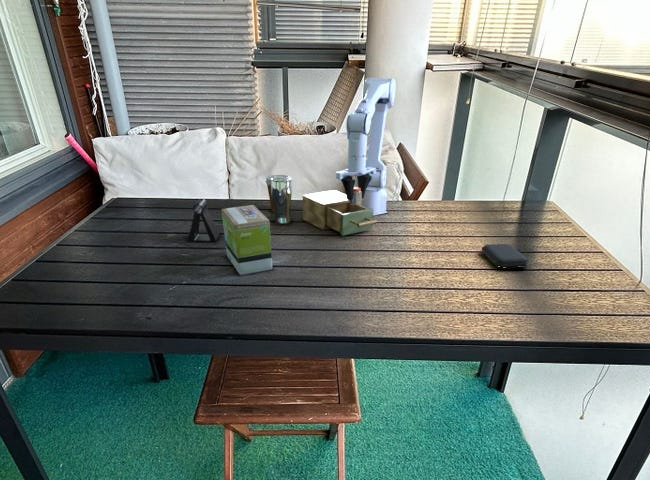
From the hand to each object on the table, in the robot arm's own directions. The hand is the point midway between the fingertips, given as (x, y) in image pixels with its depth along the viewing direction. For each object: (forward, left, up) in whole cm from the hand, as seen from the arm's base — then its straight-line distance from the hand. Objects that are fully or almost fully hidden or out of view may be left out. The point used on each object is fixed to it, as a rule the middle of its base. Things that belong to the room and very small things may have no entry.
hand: (355, 198), depth 161 cm
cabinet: (+2, -12, -10) cm, 16 cm away
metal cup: (+11, -33, -11) cm, 36 cm away
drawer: (+2, +1, -10) cm, 10 cm away
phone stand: (+47, -19, -11) cm, 52 cm away
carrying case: (-21, +47, -11) cm, 52 cm away
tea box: (+44, +8, -11) cm, 46 cm away
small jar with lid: (0, 0, -1) cm, 1 cm away
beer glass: (+17, -20, -11) cm, 28 cm away
